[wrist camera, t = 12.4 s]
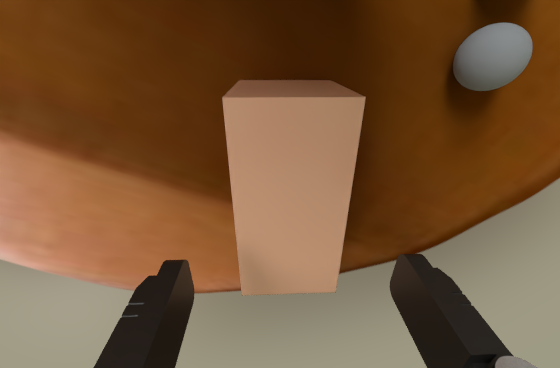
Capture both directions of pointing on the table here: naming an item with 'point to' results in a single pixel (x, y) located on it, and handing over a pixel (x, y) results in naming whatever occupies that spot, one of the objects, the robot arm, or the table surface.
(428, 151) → the table surface
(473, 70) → the slate ball
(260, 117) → the peach rectangular block
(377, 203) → the table surface
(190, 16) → the table surface
